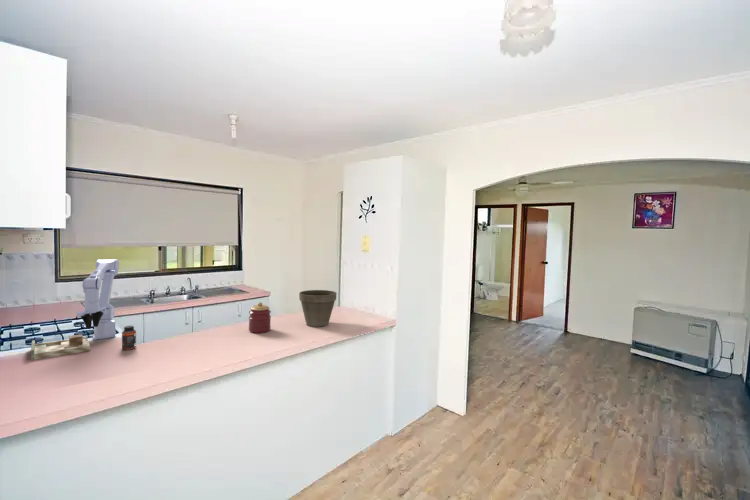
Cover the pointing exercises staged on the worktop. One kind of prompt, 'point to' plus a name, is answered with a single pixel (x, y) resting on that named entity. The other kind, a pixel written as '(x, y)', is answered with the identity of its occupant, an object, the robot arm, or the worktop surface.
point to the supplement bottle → (128, 338)
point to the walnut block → (75, 340)
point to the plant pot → (317, 306)
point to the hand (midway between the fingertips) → (92, 327)
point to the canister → (259, 318)
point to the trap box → (57, 348)
